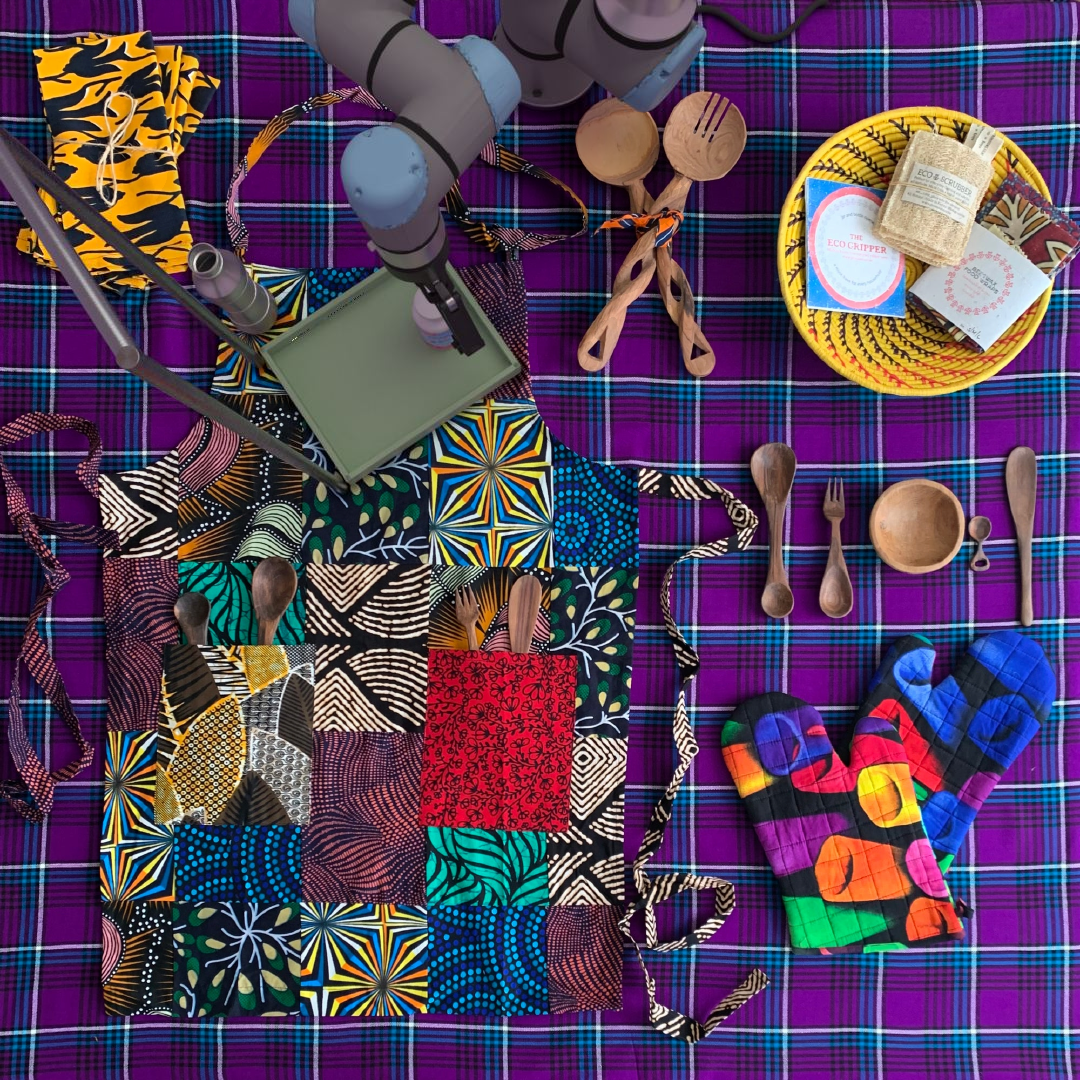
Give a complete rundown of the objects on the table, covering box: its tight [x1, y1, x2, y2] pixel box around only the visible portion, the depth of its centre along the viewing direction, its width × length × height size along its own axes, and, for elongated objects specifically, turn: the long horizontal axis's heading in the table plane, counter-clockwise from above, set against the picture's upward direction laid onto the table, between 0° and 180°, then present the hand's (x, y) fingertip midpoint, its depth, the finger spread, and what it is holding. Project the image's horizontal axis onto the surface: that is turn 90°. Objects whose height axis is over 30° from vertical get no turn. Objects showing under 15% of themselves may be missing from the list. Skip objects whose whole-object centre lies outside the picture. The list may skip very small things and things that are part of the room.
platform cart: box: [0, 124, 522, 495], centre depth 93 cm, size 30×22×62 cm
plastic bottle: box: [186, 242, 279, 335], centre depth 115 cm, size 6×7×20 cm
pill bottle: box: [412, 287, 453, 350], centre depth 118 cm, size 6×6×11 cm
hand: (438, 303), depth 115 cm, fingers open, 13 cm apart
